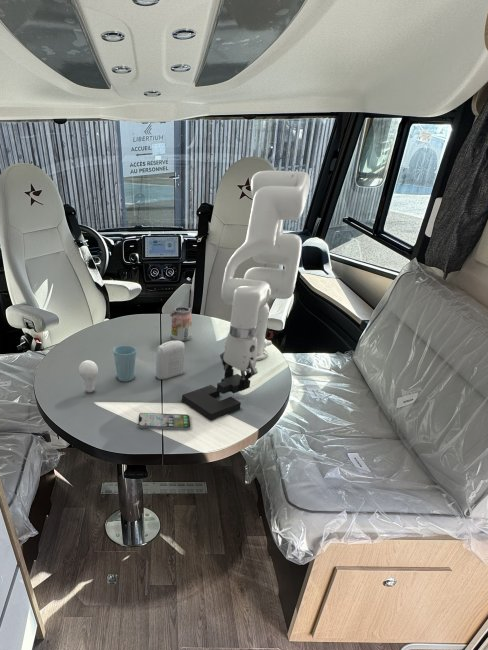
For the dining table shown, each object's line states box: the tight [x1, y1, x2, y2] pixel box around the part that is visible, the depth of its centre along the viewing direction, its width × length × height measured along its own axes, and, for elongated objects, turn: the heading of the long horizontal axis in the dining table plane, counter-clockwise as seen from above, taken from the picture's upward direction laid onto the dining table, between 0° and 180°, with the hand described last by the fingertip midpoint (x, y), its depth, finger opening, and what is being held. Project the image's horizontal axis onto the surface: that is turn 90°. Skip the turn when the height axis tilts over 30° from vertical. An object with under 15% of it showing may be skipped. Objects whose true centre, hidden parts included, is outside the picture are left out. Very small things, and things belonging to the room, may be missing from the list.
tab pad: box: [216, 373, 251, 395], centre depth 139 cm, size 10×6×2 cm, turn 125°
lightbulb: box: [78, 359, 99, 393], centre depth 142 cm, size 6×6×11 cm
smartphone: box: [138, 412, 191, 431], centre depth 130 cm, size 7×1×15 cm
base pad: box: [181, 384, 242, 422], centre depth 138 cm, size 12×14×2 cm
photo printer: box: [155, 340, 186, 380], centre depth 151 cm, size 10×4×12 cm, turn 123°
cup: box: [113, 344, 137, 382], centre depth 150 cm, size 8×8×10 cm
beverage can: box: [169, 306, 193, 342], centre depth 179 cm, size 9×8×12 cm
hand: (235, 385), depth 140 cm, fingers closed on tab pad, 6 cm apart
